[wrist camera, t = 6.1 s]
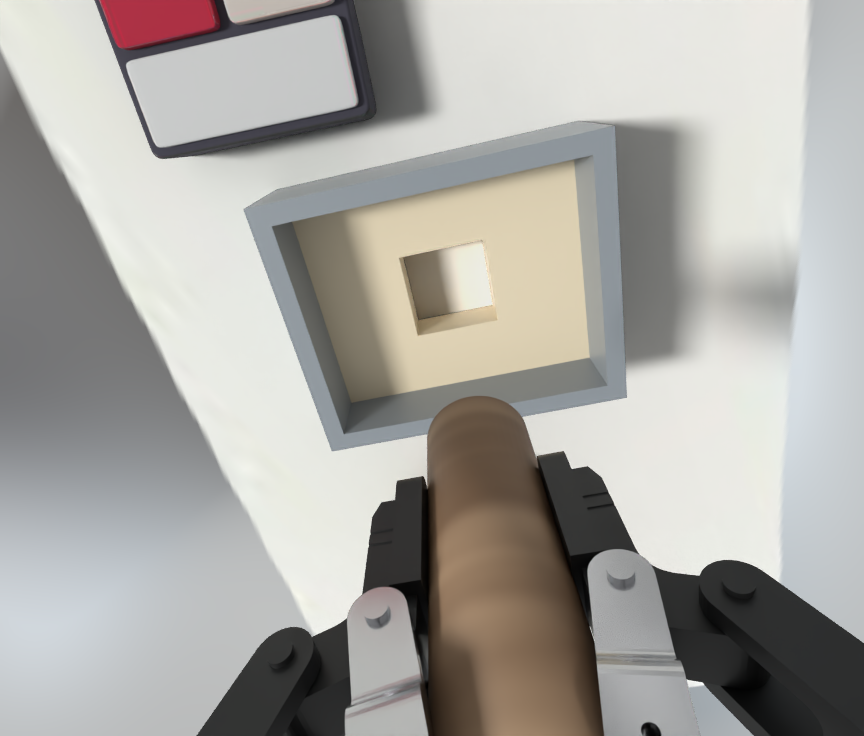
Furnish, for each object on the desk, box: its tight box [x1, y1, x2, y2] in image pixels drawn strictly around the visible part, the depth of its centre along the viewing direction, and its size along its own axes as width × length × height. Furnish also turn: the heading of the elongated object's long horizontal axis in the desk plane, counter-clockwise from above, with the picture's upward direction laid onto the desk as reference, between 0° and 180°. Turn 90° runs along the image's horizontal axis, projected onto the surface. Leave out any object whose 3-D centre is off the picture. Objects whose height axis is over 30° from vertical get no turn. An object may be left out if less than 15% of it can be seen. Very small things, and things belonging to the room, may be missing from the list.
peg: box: [427, 396, 604, 736], centre depth 12 cm, size 3×3×10 cm
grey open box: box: [244, 121, 627, 451], centre depth 29 cm, size 14×17×6 cm
